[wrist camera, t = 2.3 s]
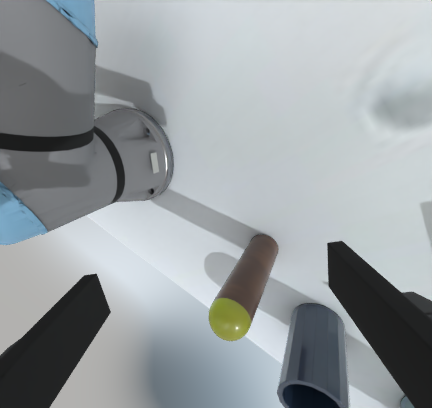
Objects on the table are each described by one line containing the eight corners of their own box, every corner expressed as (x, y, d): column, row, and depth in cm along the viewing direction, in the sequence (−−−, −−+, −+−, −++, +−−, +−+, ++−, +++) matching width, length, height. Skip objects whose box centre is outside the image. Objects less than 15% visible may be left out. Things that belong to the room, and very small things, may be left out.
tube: (288, 329, 38) (273, 406, 28) (296, 296, 35) (283, 369, 25) (337, 349, 35) (339, 443, 25) (351, 315, 32) (360, 406, 22)
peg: (248, 254, 36) (200, 339, 23) (251, 231, 35) (201, 307, 21) (276, 262, 35) (241, 359, 21) (280, 238, 33) (245, 327, 19)
